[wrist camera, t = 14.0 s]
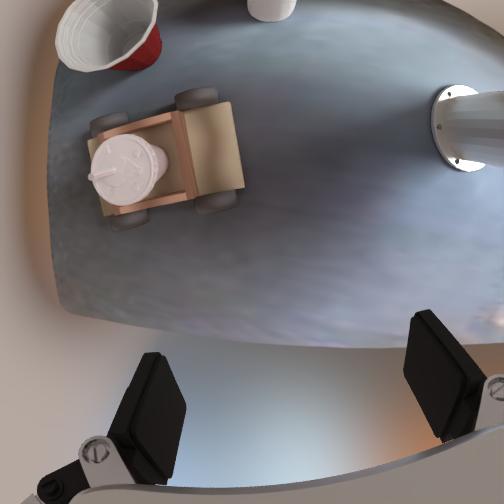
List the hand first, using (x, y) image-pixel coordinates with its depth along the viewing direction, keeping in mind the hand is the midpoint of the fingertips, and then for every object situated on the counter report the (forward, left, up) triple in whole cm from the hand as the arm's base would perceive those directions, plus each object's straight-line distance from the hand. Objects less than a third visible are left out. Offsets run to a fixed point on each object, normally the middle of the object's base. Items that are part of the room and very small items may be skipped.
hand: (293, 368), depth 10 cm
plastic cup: (+12, -23, -28) cm, 39 cm away
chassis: (+11, -8, -28) cm, 31 cm away
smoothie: (+12, -8, -26) cm, 30 cm away
